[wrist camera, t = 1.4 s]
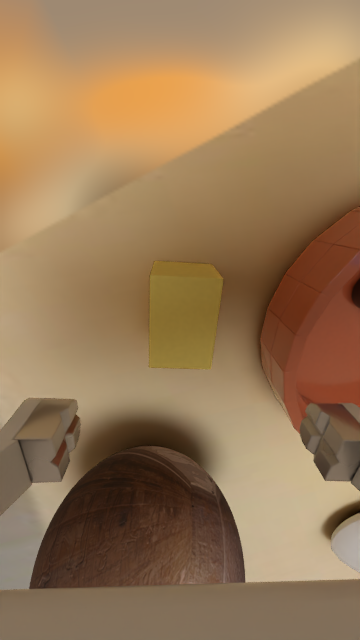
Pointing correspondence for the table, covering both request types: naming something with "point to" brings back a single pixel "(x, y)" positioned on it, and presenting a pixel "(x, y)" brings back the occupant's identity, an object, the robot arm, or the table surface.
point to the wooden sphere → (141, 527)
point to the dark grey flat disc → (356, 294)
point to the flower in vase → (348, 542)
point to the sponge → (183, 314)
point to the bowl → (316, 324)
